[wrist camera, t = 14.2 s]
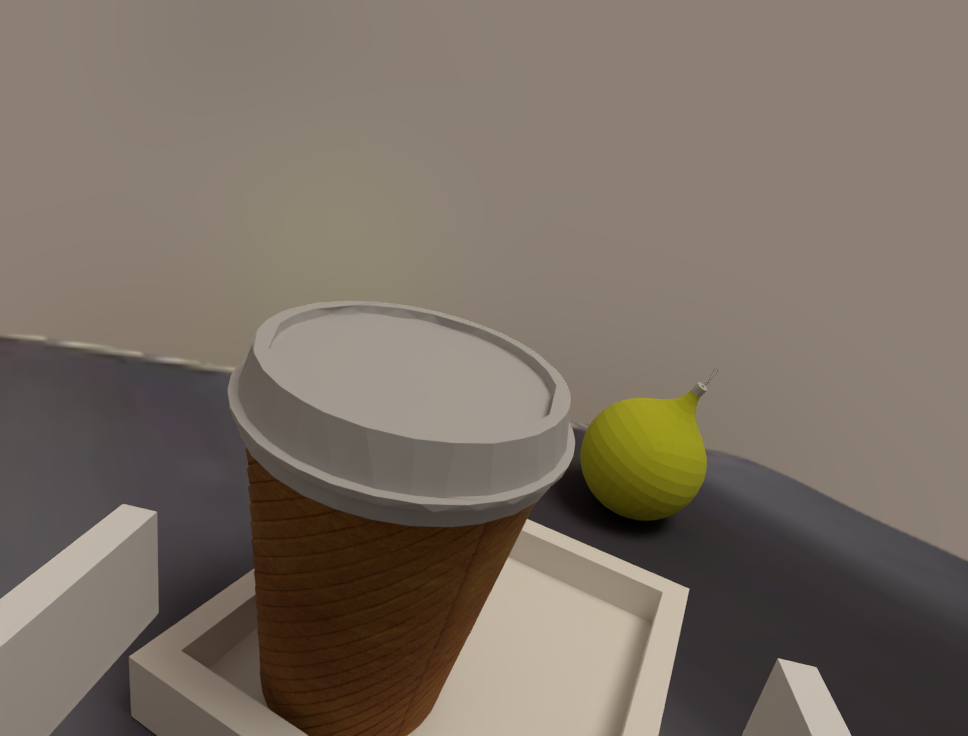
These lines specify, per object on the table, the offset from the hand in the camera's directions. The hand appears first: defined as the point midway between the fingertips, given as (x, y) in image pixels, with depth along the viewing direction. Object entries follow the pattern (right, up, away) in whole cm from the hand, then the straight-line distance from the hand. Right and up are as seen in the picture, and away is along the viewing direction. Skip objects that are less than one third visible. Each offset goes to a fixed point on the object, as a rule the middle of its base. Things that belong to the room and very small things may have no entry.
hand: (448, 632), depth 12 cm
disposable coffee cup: (-4, -5, +8) cm, 10 cm away
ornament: (+9, -3, +23) cm, 25 cm away
